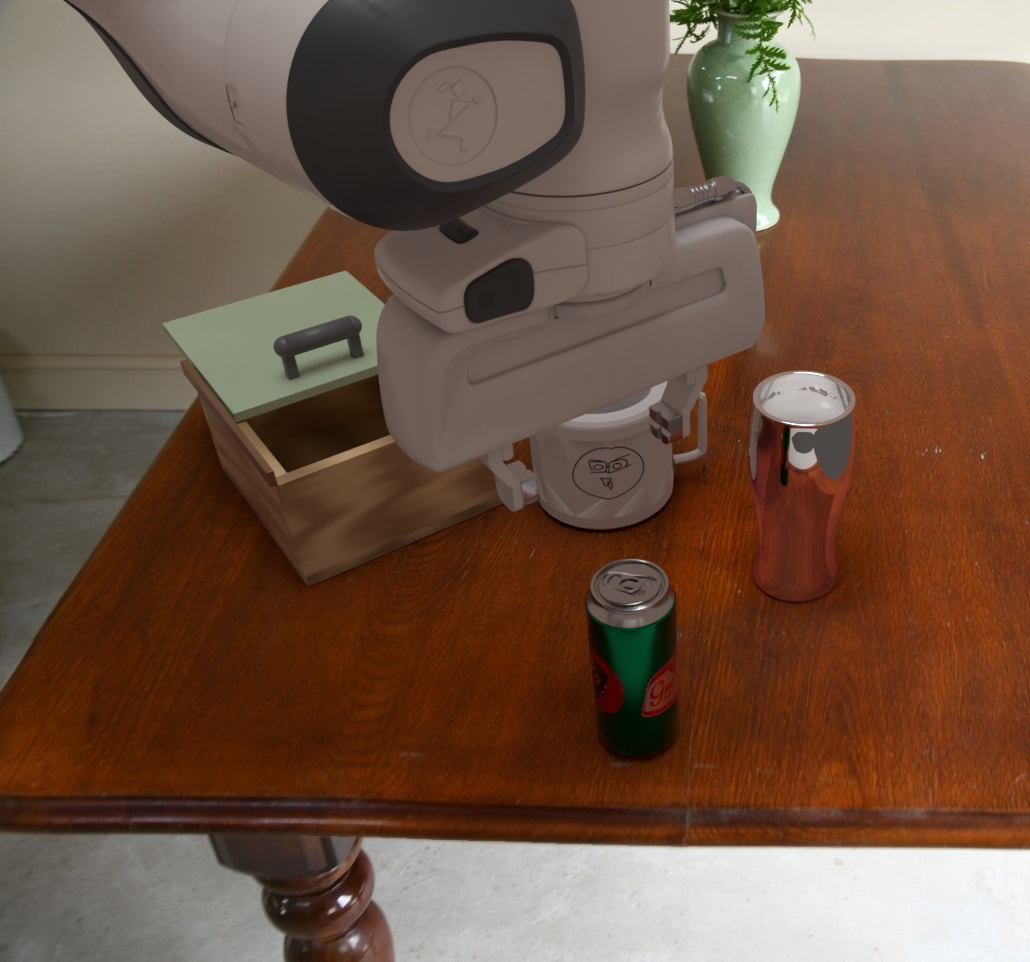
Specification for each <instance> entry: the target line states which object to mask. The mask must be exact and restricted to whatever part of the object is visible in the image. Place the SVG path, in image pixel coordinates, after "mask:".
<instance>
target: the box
mask: <svg viewBox="0 0 1030 962" xmlns="http://www.w3.org/2000/svg"><path fill="white" fill-rule="evenodd" d="M391 297H392V296H388V297H386V298H385V300H386V302H387V301H388V300H389V299H390V298H391ZM179 363H180V366H181V370H182V372H183V375H184V376H185V378H186V379H187V380H188V381H189V383H190V384H191V386H192V387H193V388H194V389H195V390H196V392H197V395H198V398H199V401H200V405H201V408H202V411H203V414H204V416H205V420H206V423H207V426H208V430H209V432H210V435H211V438H212V441H213V444H214V447H215V451H216V454H217V456H218V460H219V463H220V466H221V469H222V471H223V472H224V473H225V475H226V476H227V477H228V478H229V480H230V481H231V483H232V484H233V486H234V487H235V488H236V490H237V491H238V492H239V494H240V496H241V497H242V498H243V499H244V501H245V502H246V504H247V505H248V506H249V508H250V509H251V510H252V512H253V513H254V515H255V516H256V517H257V519H258V520H259V522H260V523H261V524H262V526H263V527H264V529H265V530H266V531H267V532H268V534H269V535H270V537H271V538H272V540H273V541H274V542H275V544H276V545H277V546H278V548H279V550H280V551H281V552H282V553H283V554H284V556H285V558H286V559H287V560H288V562H289V563H290V564H291V565H292V567H293V568H294V570H295V571H296V572H297V574H298V575H299V577H300V578H301V579H302V581H303V582H304V583H305V585H306V586H307V587H308V588H309V587H312V586H314V585H316V584H318V583H321V582H323V581H325V580H329V579H331V578H333V577H335V576H338V575H339V574H343V573H344V572H346V571H349V570H352V569H355V568H356V567H359V566H361V565H364V564H365V563H368V562H370V561H373V560H375V559H377V558H379V557H382V556H385V555H387V554H389V553H392V552H394V551H396V550H398V549H400V548H403V547H405V546H408V545H411V544H412V543H414V542H417V541H420V540H422V539H424V538H427V537H429V536H431V535H434V534H436V533H438V532H440V531H443V530H446V529H448V528H450V527H452V526H455V525H458V524H460V523H461V522H464V521H466V520H468V519H471V518H473V517H476V516H478V515H480V514H483V513H485V512H488V511H490V510H492V509H494V508H497V507H499V506H501V505H504V504H503V503H502V502H501V500H500V498H499V496H498V493H497V488H496V482H495V475H494V473H493V472H492V471H491V470H490V469H489V468H488V467H487V466H486V465H485V464H484V463H483V462H482V461H481V460H480V459H478V458H475V459H473V460H471V461H468V462H466V463H463V464H461V465H458V466H456V467H453V468H451V469H449V470H446V471H443V472H439V473H438V472H432V471H430V470H428V469H426V468H425V467H423V466H421V465H419V464H418V463H416V462H415V461H413V460H412V459H411V458H410V457H409V456H408V455H406V454H405V453H404V452H403V450H402V449H401V448H400V447H399V446H398V445H397V443H396V442H395V441H394V440H393V438H392V436H391V435H390V433H389V430H388V428H387V424H386V420H385V416H384V411H383V406H382V399H381V393H380V385H379V376H378V375H375V376H372V377H369V378H366V379H363V380H360V381H357V382H354V383H351V384H348V385H345V386H342V387H339V388H336V389H334V390H331V391H328V392H325V393H322V394H319V395H316V396H313V397H310V398H307V399H304V400H301V401H298V402H295V403H292V404H289V405H287V406H284V407H281V408H278V409H275V410H272V411H269V412H266V413H263V414H260V415H257V416H254V417H251V418H248V419H245V420H243V421H240V422H235V421H234V419H233V418H232V417H231V416H230V414H229V413H228V412H227V410H226V409H225V408H224V407H223V405H222V404H221V403H220V402H219V400H218V399H217V398H216V396H215V395H214V394H213V393H212V391H211V390H210V389H209V387H208V386H207V385H206V384H205V382H204V381H203V380H202V379H201V377H200V376H199V375H198V373H197V372H196V371H195V370H194V368H193V367H192V366H191V365H190V363H189V362H188V361H187V359H186V358H185V359H182V360H179Z"/></svg>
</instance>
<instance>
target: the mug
mask: <svg viewBox="0 0 1030 962" xmlns="http://www.w3.org/2000/svg"><path fill="white" fill-rule="evenodd" d="M667 382H668V381H666V382H664V383H661V384H659V385H656V386H654V387H651V388H649V389H646V390H644V391H641V392H639V393H636V394H634V395H631V396H629V397H627V398H624V399H622V400H619V401H617V402H614V403H612V404H609V405H607V406H604V407H602V408H599V409H597V410H594V411H592V412H589V413H587V414H584V415H582V416H579V417H577V418H574V419H572V420H569V421H567V422H565V423H562V424H560V425H557V426H555V427H552V428H550V429H547V430H545V431H542V432H540V433H537V434H535V435H532V436H530V437H528V438H529V448H530V455H531V464H532V472H533V473H534V474H535V475H536V476H537V480H538V489H537V492H538V493H539V496H540V499H539V501H538V502H539V505H540V506H541V507H542V509H543V510H544V511H545V512H546V513H547V514H548V515H550V516H551V517H553V518H554V519H556V520H558V521H560V522H561V523H564V524H566V525H569V526H573V527H576V528H581V529H586V530H601V531H603V530H615V529H620V528H624V527H628V526H632V525H636V524H637V523H641V522H642V521H645V520H646V519H648V518H650V517H652V516H653V515H654V514H655V513H657V512H659V511H660V510H661V509H662V508H663V507H664V506H665V505H666V504H667V503H668V501H669V500H670V498H671V496H672V493H673V489H674V477H675V476H674V475H675V474H674V473H675V472H674V465H681V464H686V463H690V462H693V461H696V460H699V459H700V458H701V457H703V456H704V455H706V453H707V450H708V400H707V396H706V393H705V392H704V391H701V393H700V395H699V397H698V399H697V404H696V405H697V409H696V413H697V448H696V449H694V450H691V451H688V452H684V453H683V452H682V453H678V454H673V442H672V443H669V444H667V445H665V444H664V443H662V439H657V438H656V437H655V436H654V435H653V434H652V432H651V429H650V422H651V420H652V418H651V417H650V416H649V406H651V405H653V404H655V403H657V402H660V401H661V398H662V396H663V393H664V390H665V387H666V385H667Z"/></svg>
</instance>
